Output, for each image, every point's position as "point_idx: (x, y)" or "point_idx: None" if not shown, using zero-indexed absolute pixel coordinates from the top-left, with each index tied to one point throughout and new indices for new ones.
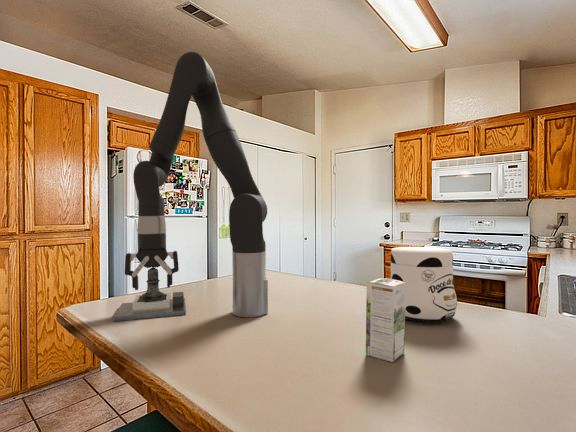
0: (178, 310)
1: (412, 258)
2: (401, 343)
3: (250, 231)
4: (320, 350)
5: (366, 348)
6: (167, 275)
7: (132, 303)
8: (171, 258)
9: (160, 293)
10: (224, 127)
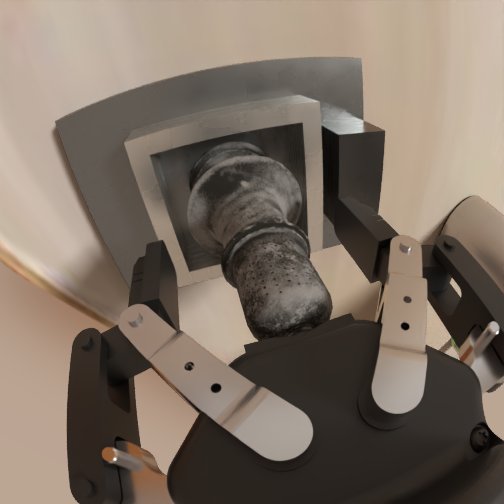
0: (335, 240)
1: None
2: None
3: None
4: (435, 339)
5: (453, 343)
6: (371, 281)
7: (178, 286)
8: (462, 349)
9: (288, 221)
10: None
